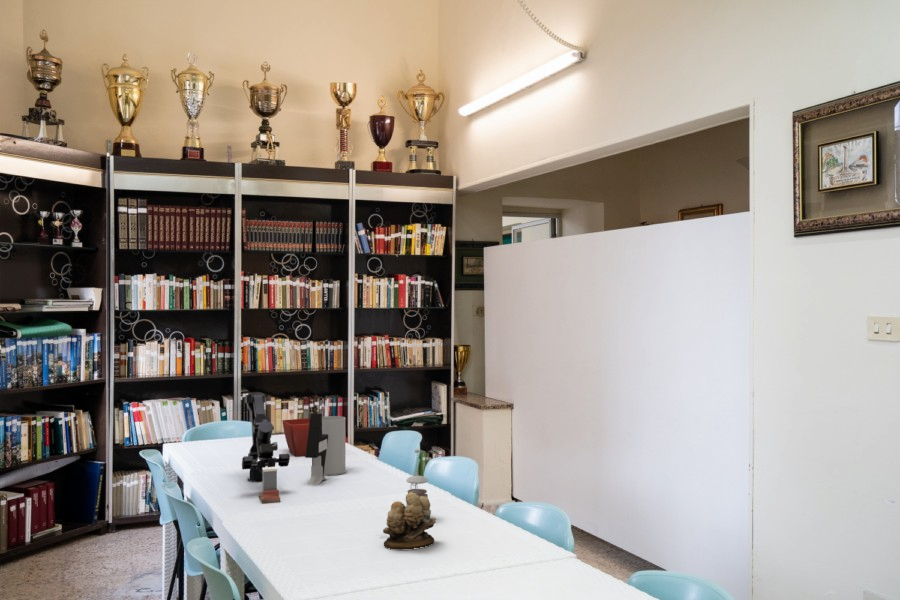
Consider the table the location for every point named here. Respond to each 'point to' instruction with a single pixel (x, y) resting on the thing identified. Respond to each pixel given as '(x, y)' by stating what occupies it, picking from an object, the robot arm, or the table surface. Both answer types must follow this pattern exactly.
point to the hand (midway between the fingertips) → (267, 479)
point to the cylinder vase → (334, 444)
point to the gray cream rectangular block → (269, 478)
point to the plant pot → (296, 435)
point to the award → (316, 449)
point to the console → (269, 496)
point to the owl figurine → (409, 523)
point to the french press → (417, 480)
